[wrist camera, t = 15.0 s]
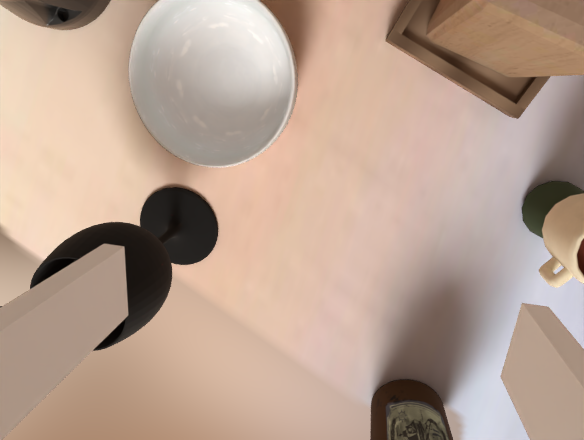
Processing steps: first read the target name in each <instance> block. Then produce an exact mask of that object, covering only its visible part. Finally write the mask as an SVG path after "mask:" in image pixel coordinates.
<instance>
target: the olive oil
mask: <svg viewBox="0 0 584 440" xmlns="http://www.w3.org/2000/svg"><path fill="white" fill-rule="evenodd" d="M370 440H453V437H452V434H451V431H450V427H449V424H448V420H447V417H446V413H445V410H444V407H443V403H442V401H441V399H440V397H439V396H438V394H437V393H436V392H435V391H434V390H433V389H432V388H430V387H429V386H427V385H425V384H423V383H421V382H418V381H414V380H396V381H392V382H390V383H387V384H385V385H384V386H382V387H381V388H380V389H379V390H378V391H377V392H376V393H375V395H374V397H373V399H372V403H371V439H370Z"/></svg>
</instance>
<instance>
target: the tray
mask: <svg viewBox="0 0 584 440" xmlns="http://www.w3.org/2000/svg"><path fill="white" fill-rule="evenodd" d="M439 2H440V0H409V2H408V4H407V5H406V7H405V9H404V10H403V12H402V14H401V15H400V17H399V19H398V21H397V22H396V24H395V26H394V27H393V29H392V31H391V32H390V34H389V36H388V37H387V39H386V42H388V43H390V44H391V45H393V46H394V47H396V48H398V49H399V50H401V51H403V52H404V53H406V54H408V55H409V56H411V57H412V58H414V59H416V60H417V61H419V62H421V63H422V64H424V65H426V66H427V67H429V68H431V69H432V70H434V71H435V72H437V73H439V74H440V75H442V76H444V77H445V78H447V79H449V80H450V81H452V82H454V83H455V84H457V85H458V86H460V87H462V88H463V89H465V90H467V91H468V92H470V93H472V94H473V95H475V96H477V97H478V98H480V99H481V100H483V101H485V102H486V103H488V104H490V105H491V106H493V107H495V108H496V109H498V110H499V111H501V112H503V113H504V114H506V115H508V116H509V117H512V118H517V119H518V118H519V117H520V116H521V114H522V113H523V112H524V110H525V109H526V108H527V107H528V105H529V104H530V103H531V101H532V100H533V99H534V97H535V96H536V95H537V93H538V92H539V91H540V89H541V88H542V87H543V86H544V84H545V83H546V82H547V80H548V79H549V78H550V76H538V77H506V76H504V75H502V74H500V73H498V72H496V71H494V70H491V69H489V68H487V67H485V66H483V65H481V64H479V63H476V62H474V61H472V60H470V59H468V58H466V57H463V56H461V55H459V54H457V53H455V52H453V51H451V50H448V49H446V48H444V47H442V46H440V45H438V44H436V43H433V42H431V41H430V39H429V38H428V37H427V36H426V32H427V26H428V24H429V22H430V20H431V18H432V16H433V14H434V12H435V10H436V8H437V6H438V4H439Z"/></svg>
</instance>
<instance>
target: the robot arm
mask: <svg viewBox="0 0 584 440" xmlns="http://www.w3.org/2000/svg"><path fill="white" fill-rule="evenodd" d="M109 2H110V0H0V5H2V6H3V7H5V8H6V9H8V10H9V11H11V12H12V13H14V14H15V15H17V16H18V17H20V18H22V19H24V20H25V21H28V22H30V23H32V24H35V25H38V26H42V27H47V28H53V29H59V30H71V29H76V28H80V27H83V26H85V25H87V24H89V23H90V22H92V21H93V20H95V19H96V18H97V17H98V16H99V15H100V14H101V13H102V12H103V11H104V10H105V8H106V7H107V5H108V4H109ZM127 316H128V301H127V283H126V266H125V249H124V246H117V245H110V244H103V245H101V246H99V247H98V248H96V249H94V250H93V251H91V252H90V253H88V254H86V255H85V256H83V257H82V258H80V259H78V260H77V261H75V262H73V263H72V264H70V265H69V266H67V267H65V268H64V269H62V270H60V271H59V272H57V273H56V274H54V275H52V276H51V277H49V278H48V279H46V280H44V281H43V282H41V283H39V284H38V285H36V286H35V287H33V288H31V289H30V290H28V291H27V292H25V293H23V294H22V295H20V296H18V297H17V298H15V299H14V300H12V301H10V302H9V303H7V304H6V305H4V306H0V440H3V439H4V438H5V436H7V435H8V434H9V433H10V432H11V431H12V430H13V429H14V428H15V427H16V426H17V425H18V424H19V423H20V422H21V421H22V420H23V419H24V418H25V417H26V416H27V415H28V414H29V413H30V412H31V411H32V410H33V409H34V408H35V407H36V406H37V405H38V404H39V403H40V402H41V401H42V400H43V399H44V398H45V397H46V396H47V395H48V394H49V393H50V392H51V391H52V390H53V389H54V388H55V387H56V386H57V385H58V384H59V383H60V382H61V381H62V380H63V379H64V378H65V377H66V376H67V375H68V374H69V373H70V372H71V371H72V370H73V369H74V368H75V367H76V366H77V365H78V364H79V363H81V362H82V361H83V360H84V358H86V357H87V355H89V354H90V353H91V352H92V351H93V350H94V349H95V348H96V347H97V346H98V345H99V344H100V343H101V342H102V341H103V340H104V339H105V338H106V337H107V336H108V335H109V334H110V333H111V332H112V331H113V330H114V329H115V328H116V327H117V326H118V325H119V324H120V323H121V322H122V321H123V320H124V319H125V318H126V317H127ZM501 379H502V381H503V383H504V385H505V387H506V389H507V392H508V394H509V396H510V398H511V400H512V402H513V404H514V406H515V409H516V411H517V413H518V415H519V417H520V419H521V421H522V423H523V426H524V428H525V430H526V432H527V434H528V436H529V438H530V440H584V349H583V348H582V347H581V345H580V344H579V343H578V342H577V341H576V339H575V338H574V337H573V336H572V335H571V333H570V332H569V331H568V330H567V329H566V327H565V326H564V325H563V324H562V323H561V321H560V320H559V319H558V318H557V317H556V315H555V314H554V313H553V312H552V310H551V309H550V308H549V307H546V306H539V305H532V304H525V303H522V305H521V308H520V312H519V315H518V319H517V322H516V325H515V329H514V332H513V336H512V339H511V343H510V346H509V349H508V353H507V356H506V360H505V363H504V367H503V370H502V373H501Z"/></svg>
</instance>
